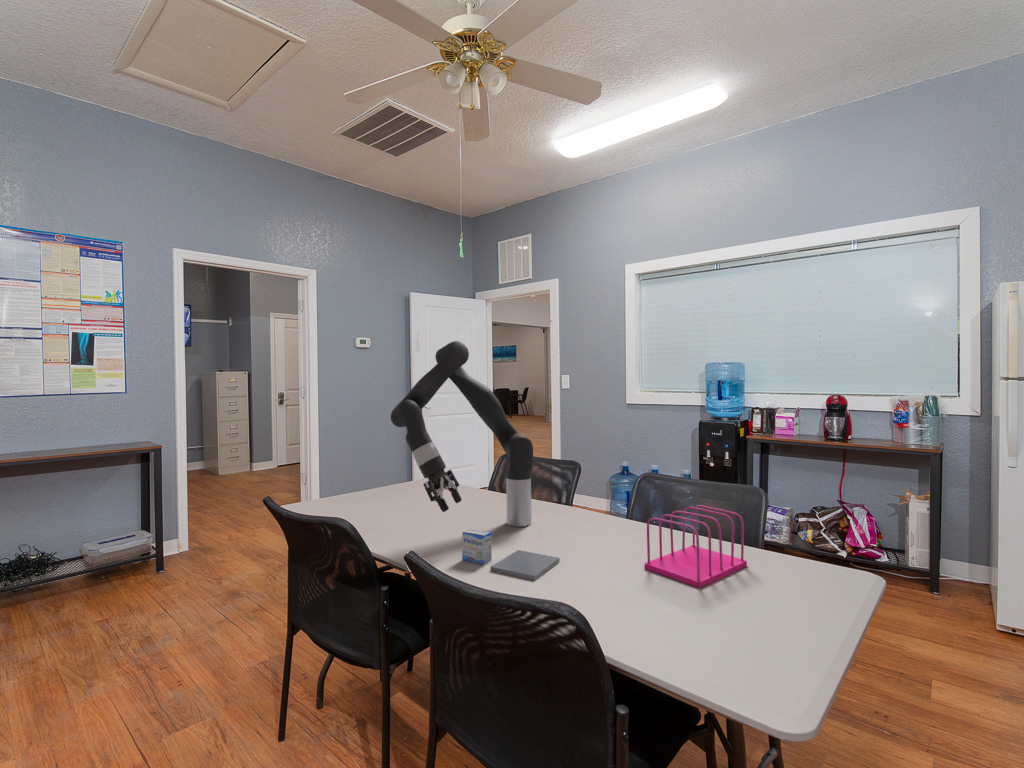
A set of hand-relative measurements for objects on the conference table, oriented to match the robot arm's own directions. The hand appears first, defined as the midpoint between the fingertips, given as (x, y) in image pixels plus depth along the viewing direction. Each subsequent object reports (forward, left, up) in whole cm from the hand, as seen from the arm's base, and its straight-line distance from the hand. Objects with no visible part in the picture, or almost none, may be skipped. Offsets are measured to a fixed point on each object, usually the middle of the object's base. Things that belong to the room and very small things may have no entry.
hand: (452, 506), depth 156 cm
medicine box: (+1, +10, -15) cm, 18 cm away
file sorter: (-25, +67, -15) cm, 74 cm away
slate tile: (-2, +25, -15) cm, 29 cm away
